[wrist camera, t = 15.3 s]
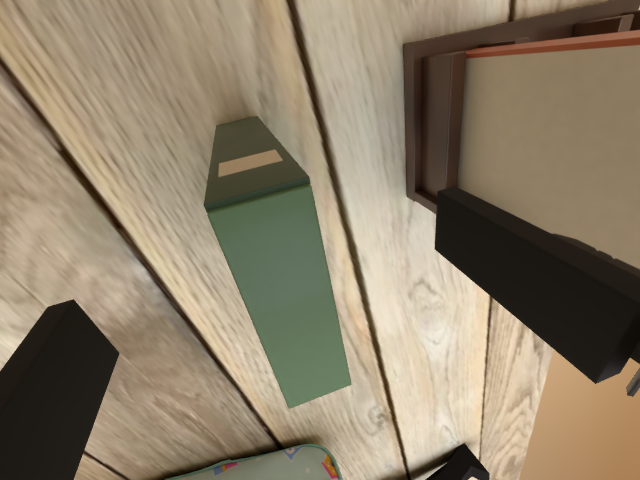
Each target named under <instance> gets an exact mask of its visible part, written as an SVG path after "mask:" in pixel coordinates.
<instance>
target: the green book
mask: <svg viewBox="0 0 640 480" xmlns="http://www.w3.org/2000/svg"><path fill="white" fill-rule="evenodd" d="M204 207H205V210H206V212H207V216H208V218H209V220H210V223H211V225H212V228H213V230H214V232H215V235H216V237H217V239H218V242H219V244H220V246H221V249H222V251H223V254H224V256H225V258H226V261H227V263H228V265H229V268H230V270H231V273H232V275H233V277H234V280H235V282H236V284H237V287H238V289H239V291H240V294H241V296H242V299H243V301H244V303H245V306H246V308H247V310H248V313H249V315H250V318H251V320H252V322H253V325H254V327H255V329H256V332H257V334H258V336H259V339H260V341H261V344H262V346H263V348H264V351H265V353H266V355H267V358H268V360H269V363H270V365H271V367H272V370H273V372H274V374H275V377H276V379H277V382H278V384H279V386H280V389H281V391H282V393H283V396H284V398H285V400H286V403H287V405H288V407H289V408H292V407H295V406H298V405H300V404H303V403H305V402H308V401H310V400H313V399H316V398H318V397H321V396H323V395H326V394H328V393H331V392H334V391H336V390H339V389H341V388H344V387H346V386H349V385H351V379H350V374H349V369H348V364H347V359H346V355H345V350H344V345H343V340H342V335H341V330H340V325H339V320H338V315H337V310H336V305H335V300H334V295H333V290H332V285H331V280H330V276H329V271H328V266H327V261H326V256H325V251H324V246H323V241H322V236H321V231H320V226H319V221H318V216H317V211H316V206H315V202H314V197H313V192H312V187H311V185H310V179H309V176H308V175H307V174H306V173H305V172H304V170H303V169H302V168H301V167H300V166H299V165H298V163H297V162H296V161H295V160H294V159H293V158H292V156H291V155H290V154H289V153H288V152H287V150H286V149H285V148H284V147H283V146H282V145H281V143H280V142H279V141H278V140H277V139H276V138H275V136H274V135H273V134H272V133H271V132H270V131H269V129H268V128H267V127H266V126H265V125H264V123H263V122H262V121H261V120H260V119H259V118H258V116H256V117H252V118H248V119H243V120H239V121H235V122H230V123H226V124H222V125H217V126H216V132H215V138H214V144H213V150H212V157H211V163H210V169H209V175H208V182H207V188H206V194H205V200H204Z"/></svg>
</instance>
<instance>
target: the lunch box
mask: <svg viewBox="0 0 640 480" xmlns="http://www.w3.org/2000/svg"><path fill="white" fill-rule="evenodd" d="M165 480H343V479H342V476H341V473H340V470H339V467H338V465H337V462H336V460H335V458H334V457H333V455H332V454H331V453H330V452H329V451H328V450H327V449H326V448H324V447H322V446H320V445H316V444H303V445H299V446H294V447H291V448H287V449H283V450H279V451H275V452H272V453H267V454H263V455H258V456H254V457H248V458H243V459H237V460H230V459H228V460H225V461H221V462H219V463H216V464H214V465H212V466H209V467H207V468H204V469H201V470H198V471H195V472H192V473H188V474H184V475H180V476H176V477H172V478H168V479H165Z"/></svg>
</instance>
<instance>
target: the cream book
mask: <svg viewBox="0 0 640 480" xmlns="http://www.w3.org/2000/svg"><path fill="white" fill-rule="evenodd" d="M466 52H467V55H466V69H465V83H464V97H463V111H462V124H461V138H460V152H459V166H458V180H457V187H458V188H460V189H462V190H464V191H466V192H468V193H470V194H472V195H474V196H476V197H478V198H480V199H482V200H484V201H486V202H488V203H490V204H492V205H495V206H497V207H499V208H501V209H503V210H505V211H507V212H509V213H511V214H513V215H515V216H517V217H519V218H521V219H523V220H525V221H527V222H529V223H531V224H533V225H535V226H537V227H539V228H541V229H543V230H545V231H547V232H549V233H551V234H554V233H556V234H559V235H563V236H567V237H570V238H574V239H577V240H579V241H581V242H583V243H586V244H588V245H590V246H592V247H594V248H596V250H597V251H599V250H600V251H602V252H604V253H607V254H609V255H611V256H612V258H613V259H615V258H617V259H619V260H621V261H623V262H626V263H628V264H630V265H632V266H634V267H636V268H638V269H640V30H635V31H626V32H617V33H608V34H600V35H591V36H582V37H573V38H565V39H556V40H547V41H539V42H530V43H521V44H512V45H504V46H495V47H486V48H477V49H472V50H468V51H466Z"/></svg>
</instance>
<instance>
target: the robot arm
mask: <svg viewBox="0 0 640 480" xmlns="http://www.w3.org/2000/svg"><path fill="white" fill-rule="evenodd" d="M435 250H436V251H438V252H439V253H440V254H441V255H442V256H444V257H445V258H446V259H447V260H448V261H450V262H451V263H452V264H453V265H454V266H455V267H457V268H458V269H459V270H460V271H461V272H463V273H464V274H465V275H466V276H467V277H469V278H470V279H471V280H472V281H473V282H475V283H476V284H477V285H478V286H479V287H481V288H482V289H483V290H484V291H485V292H486V293H488V294H489V295H490V296H491V297H492V298H494V299H495V300H496V301H497V302H498V303H500V304H501V305H502V306H503V307H504V308H506V309H507V310H508V311H509V312H510V313H512V314H513V315H514V316H515V317H516V318H518V319H519V320H520V321H521V322H522V323H523V324H525V325H526V326H527V327H528V328H529V329H531V330H532V331H533V332H534V333H535V334H537V335H538V336H539V337H540V338H541V339H543V340H544V341H545V342H546V343H547V344H549V345H550V346H551V347H552V348H553V349H555V350H556V351H557V352H558V353H559V354H561V355H562V356H563V357H564V358H565V359H566V360H568V361H569V362H570V363H571V364H573V365H574V366H575V367H576V368H577V369H578V370H580V371H581V372H582V373H583V374H584V375H586V376H587V377H588V378H589V379H590V380H592V381H593V382H594V383H595V384H596V383H599V382H601V381H603V380H605V379H607V378H610V377H612V376H614V375H616V374H619V373H620V372H621V370H622V369H623V367H624V366H625V364H626V363H627V361H628V359H629V358H632V359H633V360H635V361H636V362H637V363H639V364H640V269H638V268H636V267H634V266H632V265H630V264H628V263H626V262H623V261H621V260H619V259H617V258H615V259H613V258H612V256H611V255H609V254H607V253H604V252H602V251H600V250H599V251H597V250H596V248H594V247H592V246H590V245H588V244H586V243H583V242H581V241H579V240H577V239H574V238H570V237H567V236H563V235H559V234H556V233H554V234H551V233H549V232H547V231H545V230H543V229H541V228H539V227H537V226H535V225H533V224H531V223H529V222H527V221H525V220H523V219H521V218H519V217H517V216H515V215H513V214H511V213H509V212H507V211H505V210H503V209H501V208H499V207H497V206H495V205H492V204H490V203H488V202H486V201H484V200H482V199H480V198H478V197H476V196H474V195H472V194H470V193H468V192H466V191H464V190H462V189H460V188H458V187H456V186H453V187H450V188H446V189H443V190H439V191H437V212H436V233H435ZM118 356H119V352H118V351H117V350H116V349H115V347H114V346H113V345H112V344H111V343H110V341H109V340H108V339H107V338H106V337H105V336H104V334H103V333H102V332H101V331H100V330H99V328H98V327H97V326H96V325H95V324H94V323H93V321H92V320H91V319H90V318H89V317H88V316H87V314H86V313H85V312H84V311H83V310H82V308H81V307H80V306H79V305H78V304H77V303H76V301H75V300H74V299H73V300H70V301H66V302H63V303H59V304H56V305H53V306H49V307H47V309H46V310H45V311H44V313H43V314H42V315H41V317H40V318H39V320H38V321H37V322H36V324H35V325H34V326H33V328H32V329H31V330H30V332H29V333H28V334H27V336H26V337H25V338H24V340H23V341H22V343H21V344H20V345H19V347H18V348H17V349H16V351H15V352H14V353H13V355H12V356H11V357H10V359H9V360H8V362H7V363H6V364H5V366H4V367H3V368H2V370H1V371H0V480H74V477H75V474H76V471H77V469H78V466H79V463H80V460H81V458H82V455H83V452H84V449H85V447H86V444H87V441H88V438H89V436H90V433H91V430H92V427H93V425H94V422H95V419H96V416H97V414H98V411H99V408H100V405H101V403H102V400H103V397H104V394H105V392H106V389H107V386H108V383H109V381H110V378H111V375H112V372H113V370H114V367H115V364H116V361H117V359H118ZM639 388H640V368H639V370H638V371H637V373H636V374H635V375H634V377H633V378H632V380H631V381H630V383H629V384H628V386H627V388H626V389H627V395H629V396H632V397H633V396H634V395H635V393H636V392H637V391H638V389H639Z"/></svg>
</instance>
